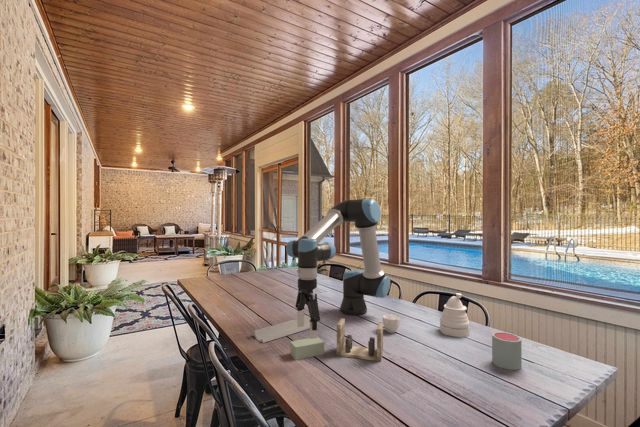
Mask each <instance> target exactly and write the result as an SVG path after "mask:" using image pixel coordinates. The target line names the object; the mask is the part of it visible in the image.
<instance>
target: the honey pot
mask: <svg viewBox="0 0 640 427" xmlns="http://www.w3.org/2000/svg"><path fill="white" fill-rule="evenodd" d="M455 295H456V296H455ZM455 295H452V296H451V297H450V298H448V300H447V302H446V303H445V304H444V305H443V308H444V309H443V311H442V312H441V317H440V320H439V321H440V322H439V331H440V332H441V333H442V334H444V335H447V336H450V337H453V338H454V337H455V338H466V337H469V336H470V334H471V333H470V332H471V326H470V320H469V318H468V314H467V313H466V311H467V310H468V308H467V306H466V305H463V302H462V301H461V300H460V299H461V298H462V297H463V293H460V292H459V293H457V292H456V294H455Z"/></svg>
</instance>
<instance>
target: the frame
mask: <svg viewBox="0 0 640 427" xmlns="http://www.w3.org/2000/svg"><path fill="white" fill-rule="evenodd" d="M345 320H346V319H345V318H343V317H342V318H340V319H339V321H338V322H337V324H336V356H338V357H345V358H353V359H361V360H369V361H376V362H382V359H383V353H384V324H383V321H379V322H378V324H377V328H376V338H375V337H374V336H373V337H372V336H370V337H369V340H368V342H367V343H368V347H363V346H362V347H361V346H353V335H352V334H347V336H346V334H345V331H346V330H345V328H346V327H345V326H346V325H345V323H346V322H345ZM375 340H376V341H375ZM375 345H376V346H375Z"/></svg>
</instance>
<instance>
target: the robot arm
mask: <svg viewBox="0 0 640 427" xmlns="http://www.w3.org/2000/svg"><path fill="white" fill-rule="evenodd" d="M381 214H382V212H381V208H380V205H379V203H378V202H377V201H376V200H375V199H373V198H371V199H369V198H361V199H360V198H359V199H358V198H357V199H344V200H343V201H340V202H339V203H337V204H335V205H334V206H332V208H330V209H329V210H328V211H327V213H326V215H325V216H323V218H322V219H320V220H319V221H318V222H316V224H315V225H313V226H312V227H311V228H310V229H309V230H308V231H306V232H305V233H304V234H303V235H301V236H300V237H299V238H298V239H297V240H290V241H288V242H287V244H286V246H285V250H286V254H287V255H288V256H289V257H291V258H295V259H297V261H298V262H297V270H296V273H297V278H298V279H297V288H298V291H297V297H296V302H295V305H294V306H295V308H296V311H297V318H296V319H297V327H304V317H305V310H306V309H305V305H306V306H307V309H308V314H309V318H310V321H309V322H310V329H309V338H310V339H315V338H317V337H318V326H317V323H318V322H319V321H321V315H320V311H319V305H318V304H319V303H318V295H317V294H318V293H314V290H316V289H317V287H318V279H317V277H318V262H322V261H328V260H332V259H333V258H334V257H335V255H336V253H337V251H336V246H335V245H334V244H333V242H329V241H324V242H322V240H323V239H325V238H326V237H327V236H328V234H330V233H331V232H332V231H333V230H334V229H335V228H336V227H337V226H338V227H339V226H341V225H342V224H344V223H353V224H354V227H355V229H357V230H358V234H359V241H360V242H359V243H360V247H361V248H360V249H361V253H362V260H363V266H364V269H354V270H353V269H352V270H346V271H345V272H344V273H343V274H342V275H343V277H342V283H343V284H342V285H343V286H342V288H343V289H342V300H341V304H340V306H339V308H340V309H339V311H340V313H341V314H343V315H348V316H362V315H366V314H367V312H368V307H367V304H366V300H365V296H369V297H375V298H380V299H383V298H385V297H386V296H388V293H389V291H390V288H391V278H390V277H389V276H388V275H386V274H385V270H384V269H383V268H382V266H381V258H380V252H379V245H378V239H377V231H376V226H377V225H378V224H379V221H380V219H381Z"/></svg>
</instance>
